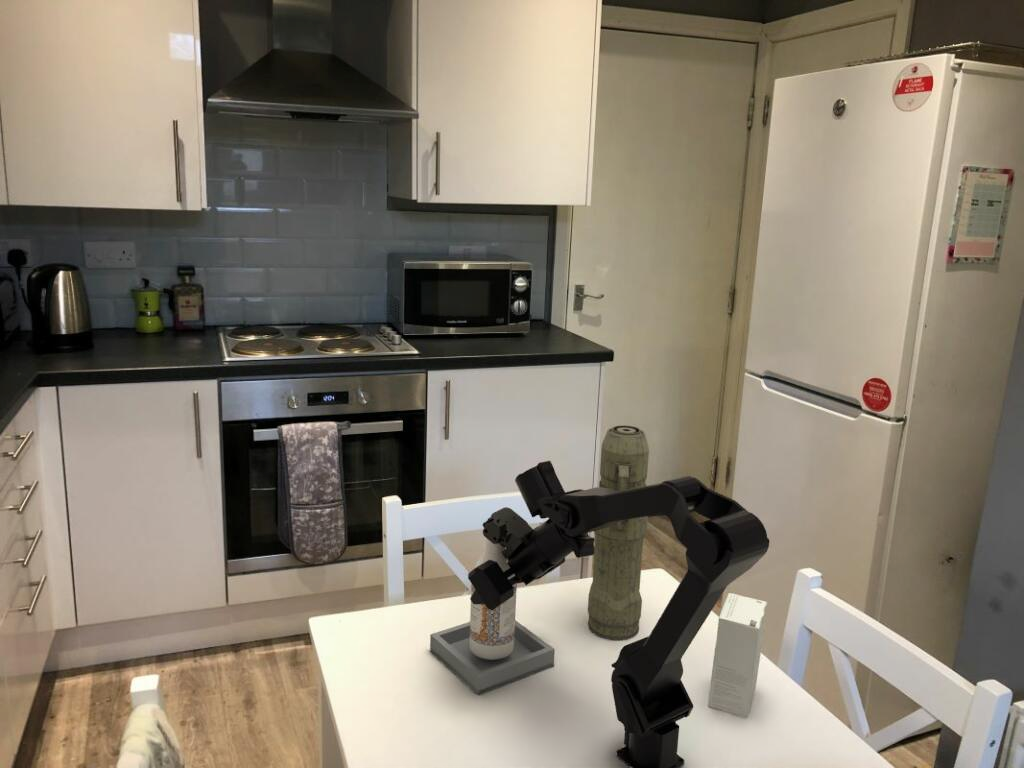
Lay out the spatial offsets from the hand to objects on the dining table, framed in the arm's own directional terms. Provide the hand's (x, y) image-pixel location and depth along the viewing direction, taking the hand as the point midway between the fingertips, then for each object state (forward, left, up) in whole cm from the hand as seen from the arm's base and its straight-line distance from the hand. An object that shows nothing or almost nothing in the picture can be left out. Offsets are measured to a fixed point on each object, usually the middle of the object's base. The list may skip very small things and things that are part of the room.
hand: (486, 592), depth 130 cm
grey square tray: (-1, 0, -11) cm, 11 cm away
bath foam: (-2, 0, -9) cm, 10 cm away
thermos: (-4, -23, -11) cm, 26 cm away
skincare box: (-29, -24, -11) cm, 40 cm away
